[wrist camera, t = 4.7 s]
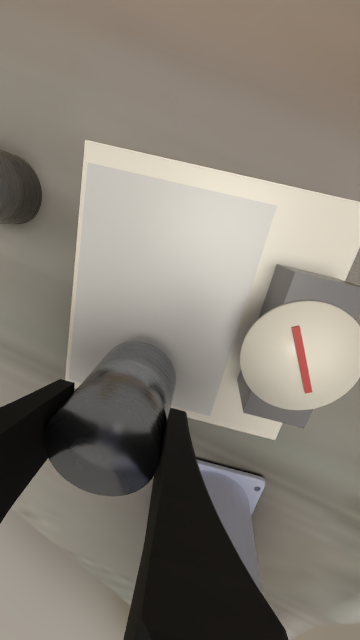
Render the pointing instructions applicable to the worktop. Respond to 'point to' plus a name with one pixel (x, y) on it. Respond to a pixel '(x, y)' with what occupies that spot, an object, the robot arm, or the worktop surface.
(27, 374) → the worktop surface
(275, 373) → the kitchen scale
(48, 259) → the worktop surface
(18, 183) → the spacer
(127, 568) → the worktop surface
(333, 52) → the worktop surface
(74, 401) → the cylinder
